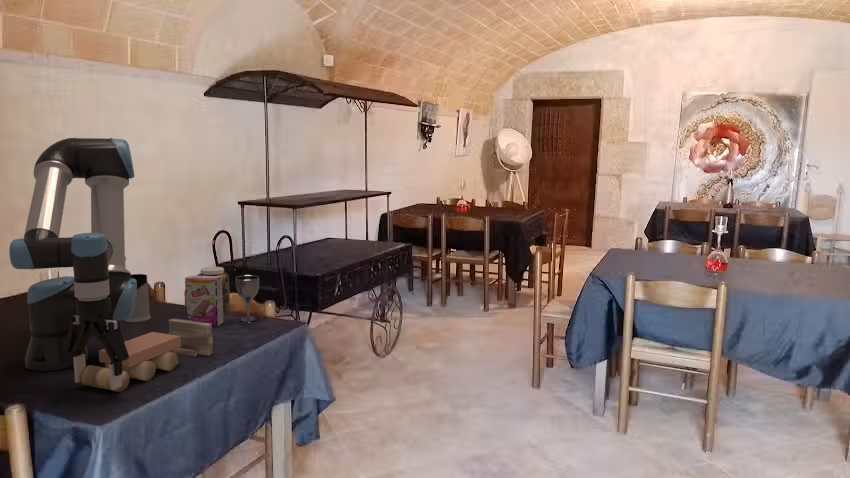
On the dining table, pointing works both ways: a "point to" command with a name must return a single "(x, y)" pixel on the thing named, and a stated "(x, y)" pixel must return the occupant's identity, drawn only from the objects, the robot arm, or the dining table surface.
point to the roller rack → (192, 343)
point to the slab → (145, 348)
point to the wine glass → (247, 290)
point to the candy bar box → (204, 299)
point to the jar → (225, 282)
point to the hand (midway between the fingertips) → (98, 384)
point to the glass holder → (141, 299)
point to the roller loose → (101, 378)
